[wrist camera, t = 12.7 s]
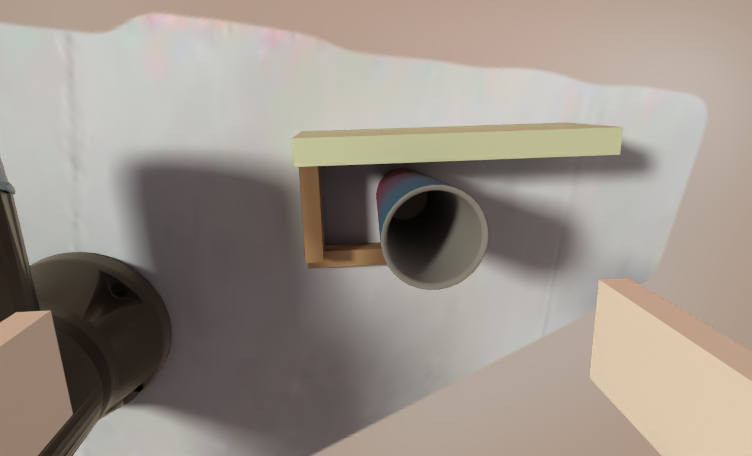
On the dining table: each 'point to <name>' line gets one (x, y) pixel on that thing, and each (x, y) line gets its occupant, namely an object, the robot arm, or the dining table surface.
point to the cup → (429, 230)
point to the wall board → (454, 143)
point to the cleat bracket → (314, 230)
